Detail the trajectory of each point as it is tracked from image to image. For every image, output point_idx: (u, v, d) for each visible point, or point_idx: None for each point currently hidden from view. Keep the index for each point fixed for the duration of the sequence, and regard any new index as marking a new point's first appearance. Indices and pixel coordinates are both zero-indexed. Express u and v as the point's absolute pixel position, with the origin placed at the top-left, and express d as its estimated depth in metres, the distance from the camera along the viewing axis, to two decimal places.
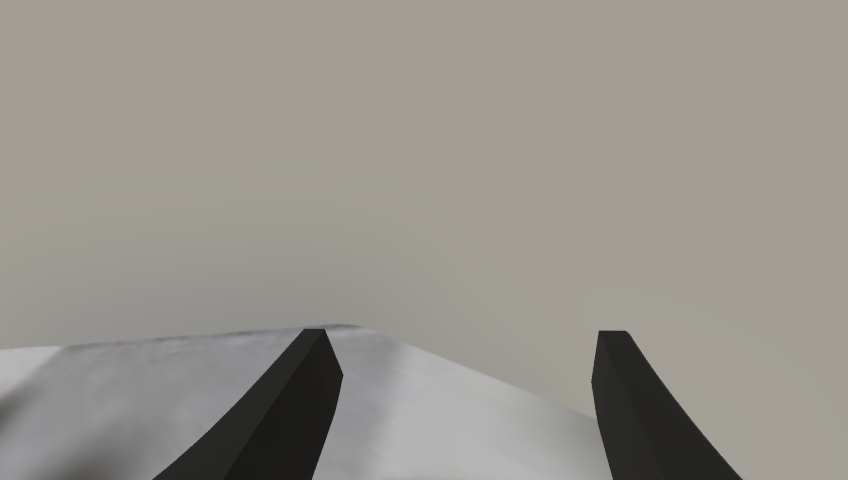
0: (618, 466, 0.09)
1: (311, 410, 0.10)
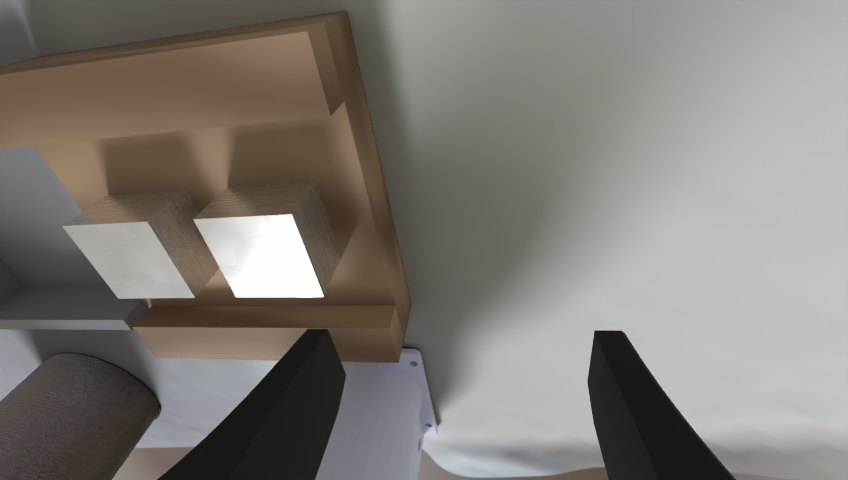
0: (614, 466, 0.09)
1: (314, 410, 0.10)
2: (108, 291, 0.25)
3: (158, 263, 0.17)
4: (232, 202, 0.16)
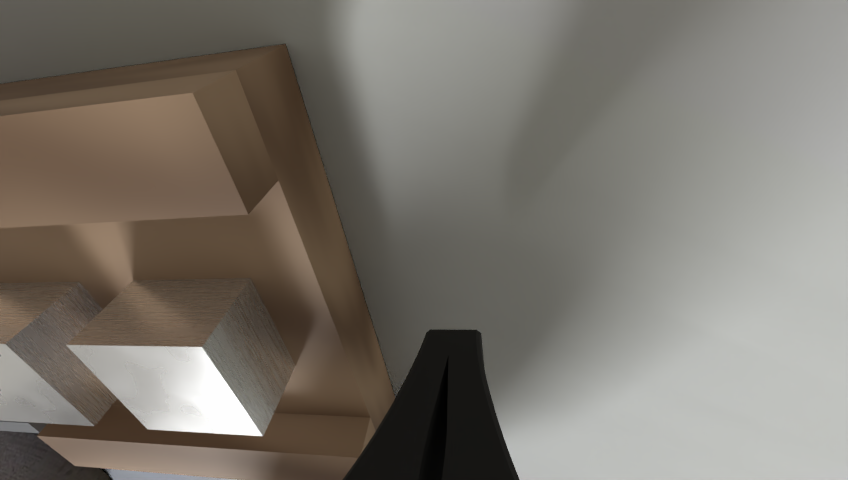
0: None
1: None
2: None
3: (35, 388, 0.12)
4: (130, 312, 0.11)
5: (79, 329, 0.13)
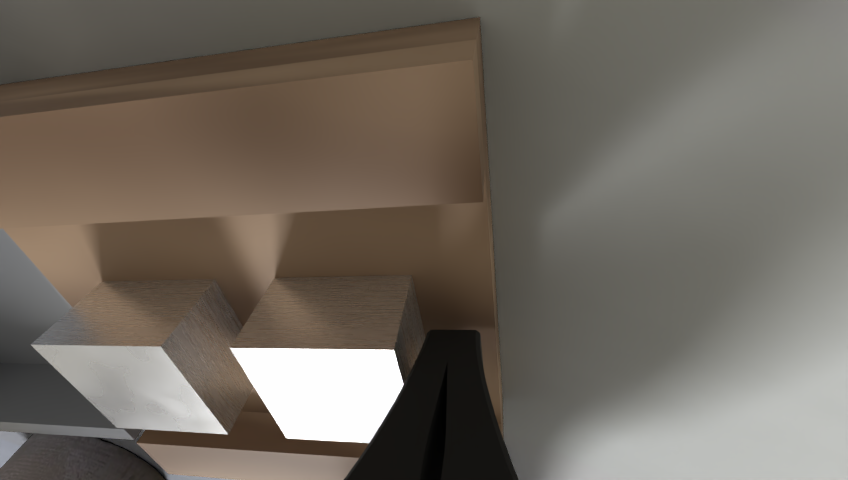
0: None
1: None
2: None
3: (176, 394, 0.11)
4: (288, 312, 0.10)
5: (215, 330, 0.12)
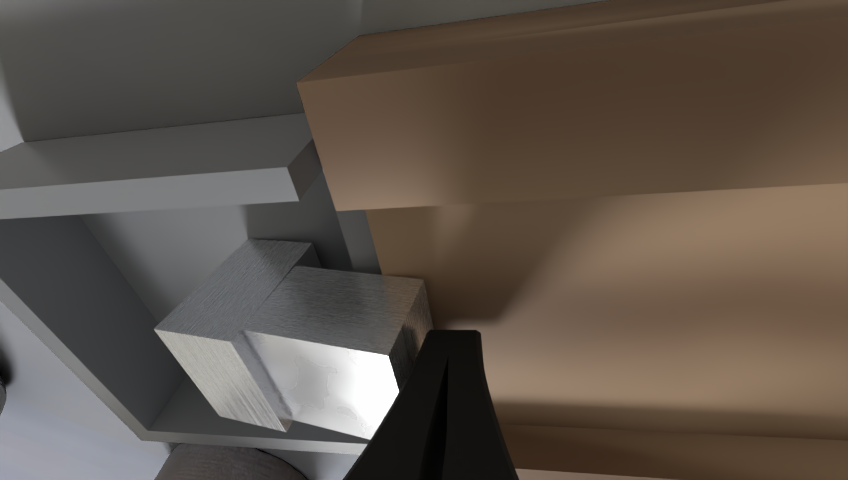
0: None
1: None
2: None
3: None
4: (299, 302, 0.11)
5: (221, 367, 0.11)
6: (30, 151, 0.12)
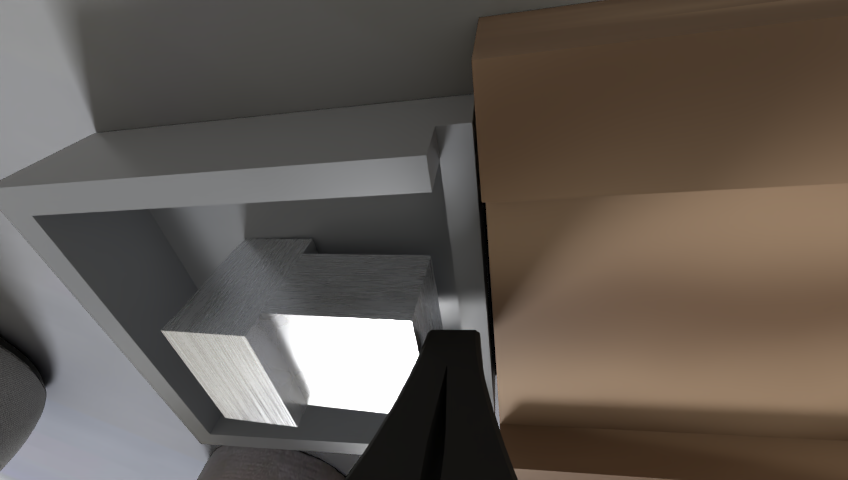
0: None
1: None
2: None
3: None
4: (314, 284, 0.11)
5: (232, 364, 0.11)
6: (110, 141, 0.12)
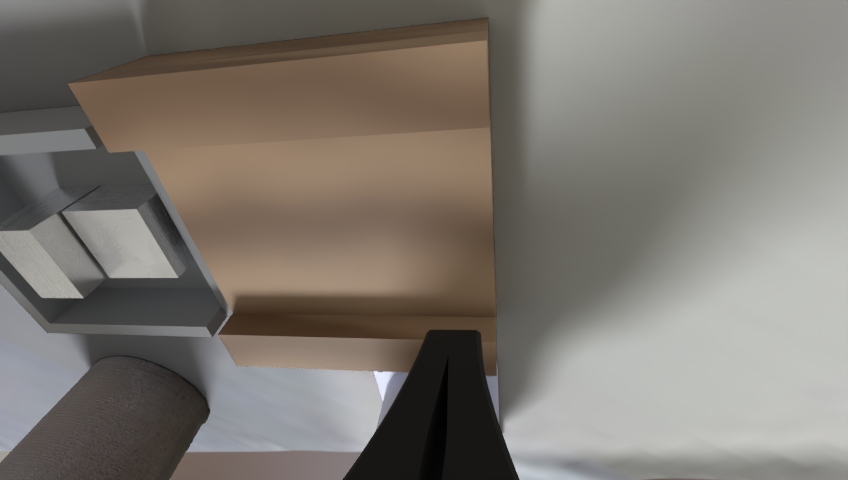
0: None
1: None
2: (182, 296, 0.24)
3: None
4: (99, 198, 0.20)
5: (29, 252, 0.19)
6: None
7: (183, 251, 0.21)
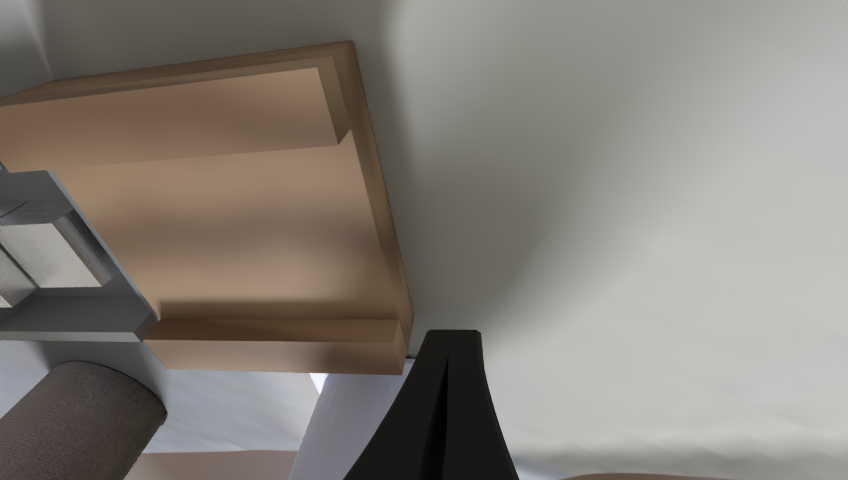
0: None
1: None
2: (117, 303, 0.25)
3: None
4: (23, 213, 0.21)
5: None
6: None
7: (107, 261, 0.22)
